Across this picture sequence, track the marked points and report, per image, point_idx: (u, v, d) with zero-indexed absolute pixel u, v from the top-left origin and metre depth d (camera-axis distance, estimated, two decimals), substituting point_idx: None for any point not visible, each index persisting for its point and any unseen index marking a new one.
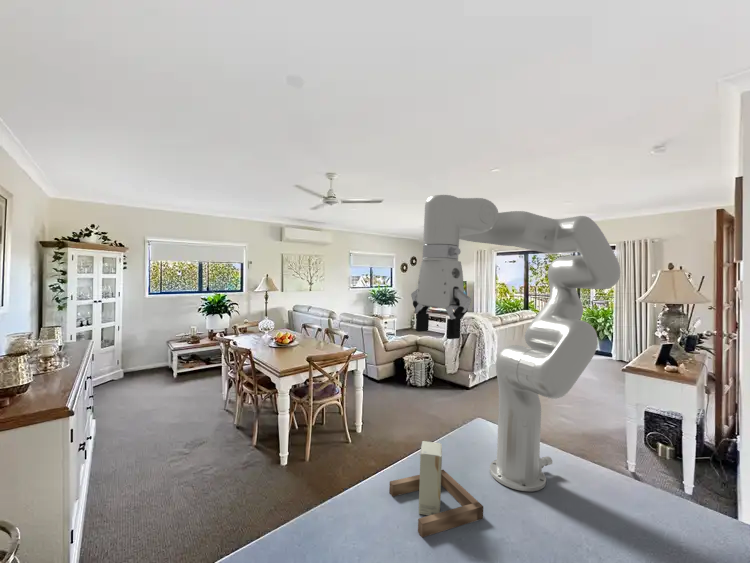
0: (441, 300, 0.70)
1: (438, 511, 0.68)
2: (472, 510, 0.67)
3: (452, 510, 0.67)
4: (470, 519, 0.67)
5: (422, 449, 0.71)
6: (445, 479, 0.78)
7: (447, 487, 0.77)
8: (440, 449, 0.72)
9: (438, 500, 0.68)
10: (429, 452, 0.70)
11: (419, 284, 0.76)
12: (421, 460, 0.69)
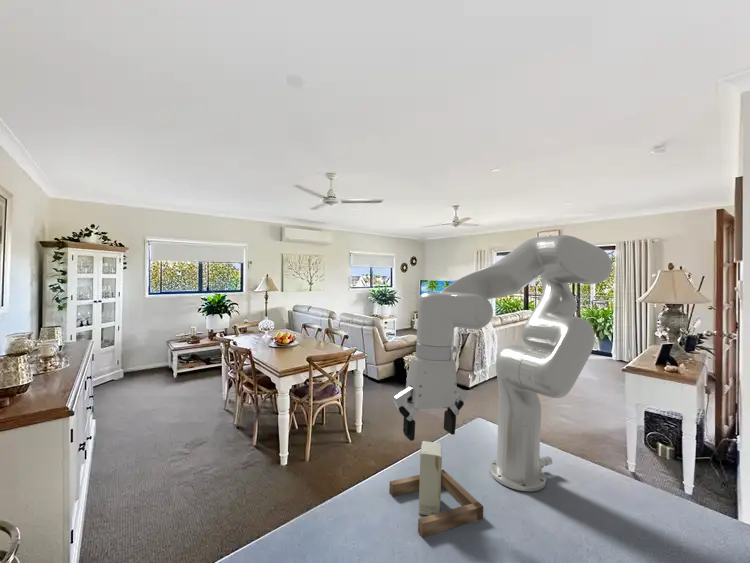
0: (450, 400, 0.71)
1: (438, 511, 0.68)
2: (472, 510, 0.67)
3: (452, 510, 0.67)
4: (470, 519, 0.67)
5: (422, 449, 0.71)
6: (445, 479, 0.78)
7: (447, 487, 0.77)
8: (440, 449, 0.72)
9: (438, 500, 0.68)
10: (429, 452, 0.70)
11: (421, 388, 0.68)
12: (421, 460, 0.69)
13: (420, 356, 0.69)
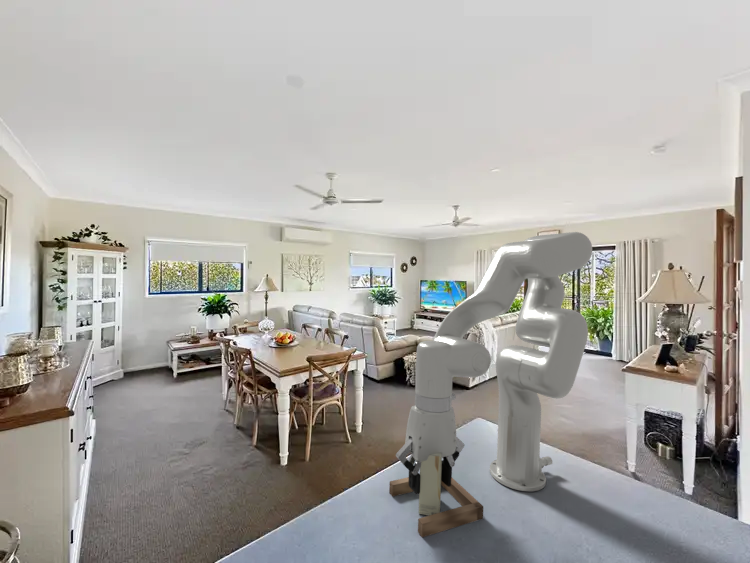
0: (450, 449, 0.71)
1: (438, 511, 0.68)
2: (472, 510, 0.67)
3: (452, 510, 0.67)
4: (470, 519, 0.67)
5: None
6: None
7: (447, 487, 0.77)
8: None
9: (438, 500, 0.68)
10: None
11: (421, 440, 0.68)
12: None
13: (419, 407, 0.69)
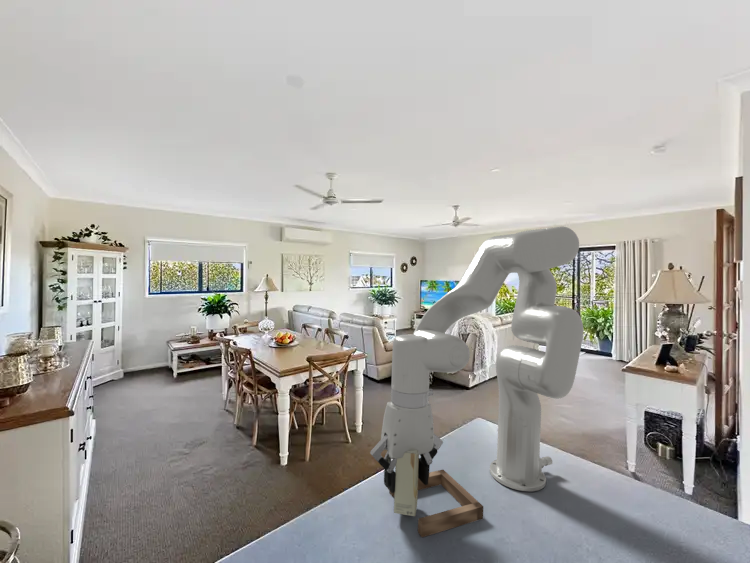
0: (427, 446, 0.69)
1: (414, 510, 0.66)
2: (472, 510, 0.67)
3: (452, 510, 0.67)
4: (470, 519, 0.67)
5: None
6: (445, 479, 0.78)
7: (447, 487, 0.77)
8: None
9: (414, 499, 0.66)
10: None
11: (396, 437, 0.66)
12: None
13: (394, 403, 0.67)
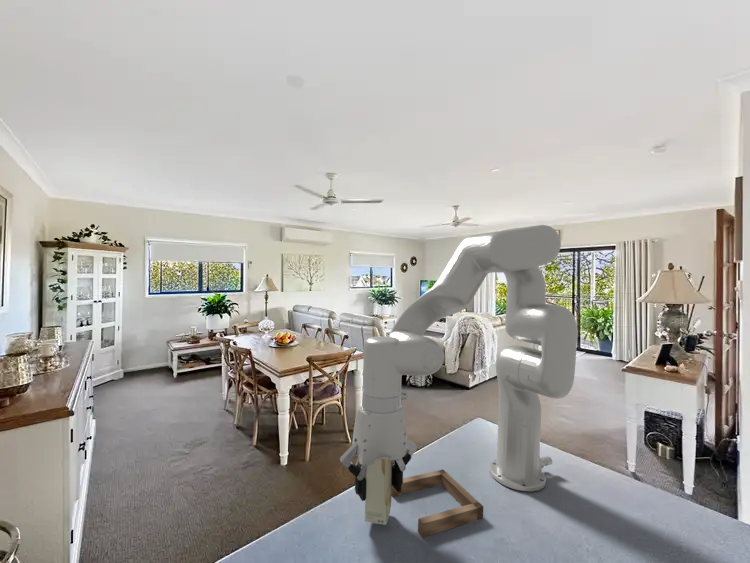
0: (400, 452, 0.66)
1: (385, 519, 0.64)
2: (472, 510, 0.67)
3: (452, 510, 0.67)
4: (470, 519, 0.67)
5: None
6: (445, 479, 0.78)
7: (447, 487, 0.77)
8: None
9: (385, 507, 0.64)
10: None
11: (366, 443, 0.64)
12: None
13: (365, 407, 0.65)
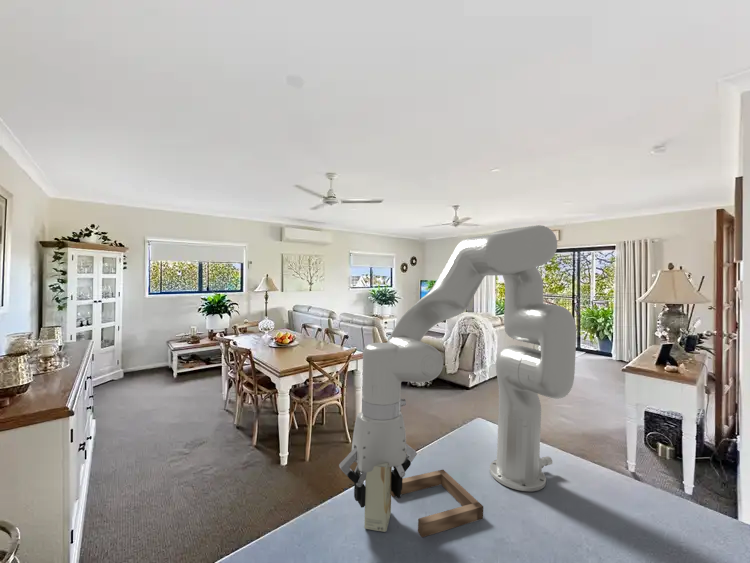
0: (399, 458, 0.66)
1: (384, 526, 0.64)
2: (472, 510, 0.67)
3: (452, 510, 0.67)
4: (470, 519, 0.67)
5: None
6: (445, 479, 0.78)
7: (447, 487, 0.77)
8: None
9: (384, 514, 0.64)
10: None
11: (365, 449, 0.63)
12: None
13: (364, 414, 0.65)
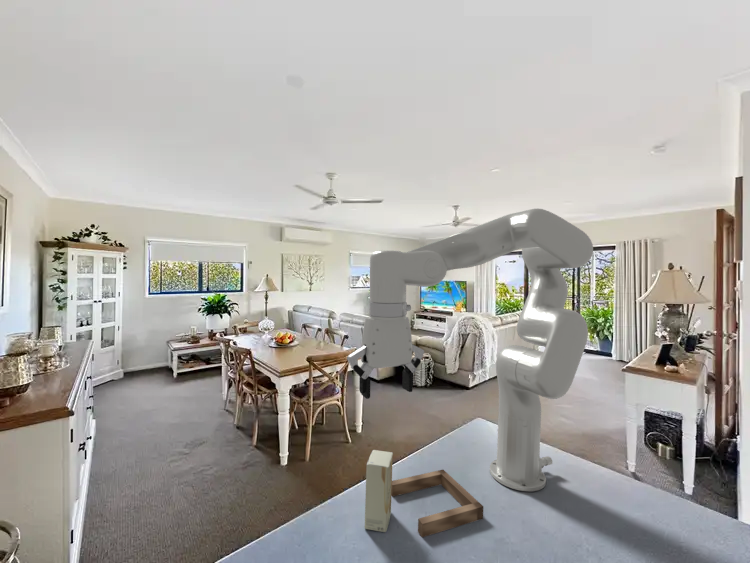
0: (406, 357, 0.71)
1: (385, 526, 0.64)
2: (472, 510, 0.67)
3: (452, 510, 0.67)
4: (470, 519, 0.67)
5: (370, 459, 0.67)
6: (445, 479, 0.78)
7: (447, 487, 0.77)
8: (389, 459, 0.67)
9: (385, 514, 0.64)
10: (376, 462, 0.65)
11: (374, 346, 0.68)
12: (367, 471, 0.65)
13: (373, 314, 0.69)
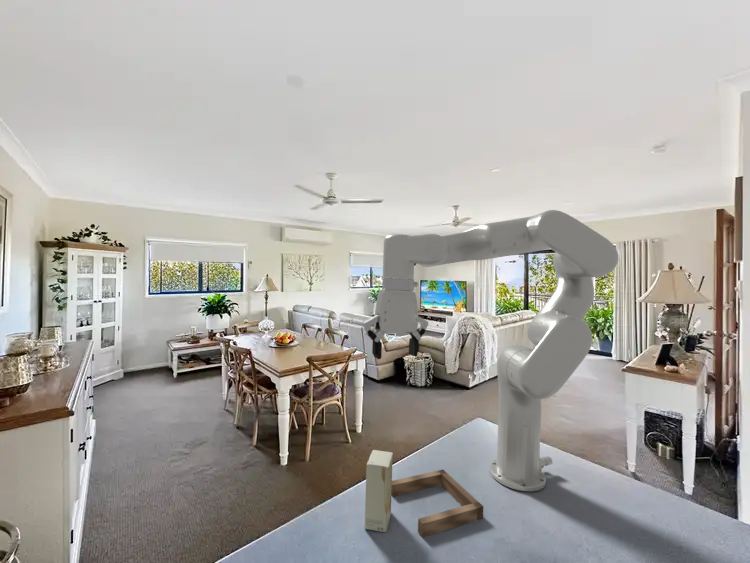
0: (412, 326, 0.83)
1: (385, 526, 0.64)
2: (472, 510, 0.67)
3: (452, 510, 0.67)
4: (470, 519, 0.67)
5: (370, 459, 0.67)
6: (445, 479, 0.78)
7: (447, 487, 0.77)
8: (389, 459, 0.67)
9: (385, 514, 0.64)
10: (376, 462, 0.65)
11: (386, 314, 0.80)
12: (367, 471, 0.65)
13: (385, 288, 0.81)
